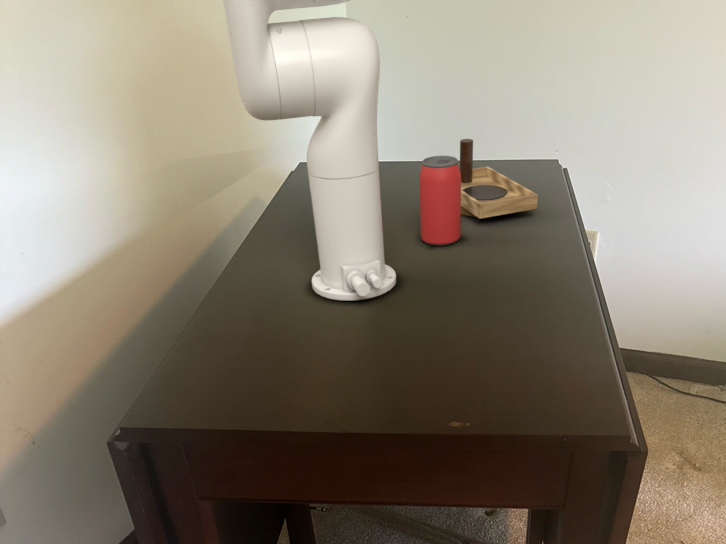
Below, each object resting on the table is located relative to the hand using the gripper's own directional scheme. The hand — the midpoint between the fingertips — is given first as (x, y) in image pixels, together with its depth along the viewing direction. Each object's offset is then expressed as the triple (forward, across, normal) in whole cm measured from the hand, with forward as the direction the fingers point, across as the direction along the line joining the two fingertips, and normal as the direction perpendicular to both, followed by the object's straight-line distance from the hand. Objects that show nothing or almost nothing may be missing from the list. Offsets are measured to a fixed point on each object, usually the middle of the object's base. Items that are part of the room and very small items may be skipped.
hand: (279, 7), depth 111 cm
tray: (+28, +28, -21) cm, 45 cm away
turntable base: (+30, +28, -21) cm, 46 cm away
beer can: (+30, +14, -33) cm, 47 cm away
